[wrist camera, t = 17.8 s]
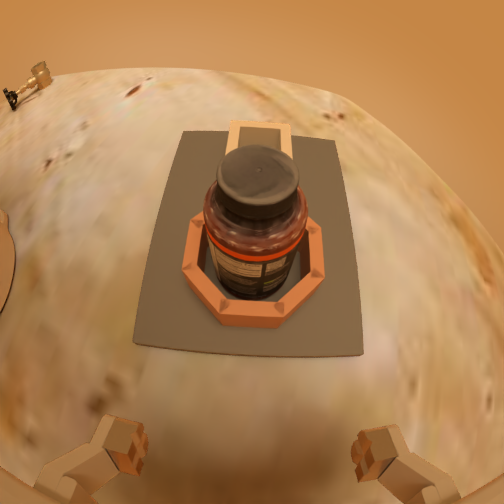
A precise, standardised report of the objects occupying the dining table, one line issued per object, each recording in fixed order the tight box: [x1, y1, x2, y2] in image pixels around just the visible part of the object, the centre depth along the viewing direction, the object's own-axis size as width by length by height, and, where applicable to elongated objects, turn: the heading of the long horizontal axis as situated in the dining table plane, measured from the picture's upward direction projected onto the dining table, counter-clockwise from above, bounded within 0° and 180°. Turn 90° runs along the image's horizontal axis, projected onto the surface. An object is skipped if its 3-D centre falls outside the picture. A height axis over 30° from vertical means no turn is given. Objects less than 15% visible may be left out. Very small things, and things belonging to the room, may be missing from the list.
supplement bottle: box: [203, 144, 308, 300], centre depth 18 cm, size 6×6×11 cm
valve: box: [3, 61, 52, 110], centre depth 39 cm, size 7×7×12 cm
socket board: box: [133, 120, 364, 357], centre depth 24 cm, size 24×18×4 cm
